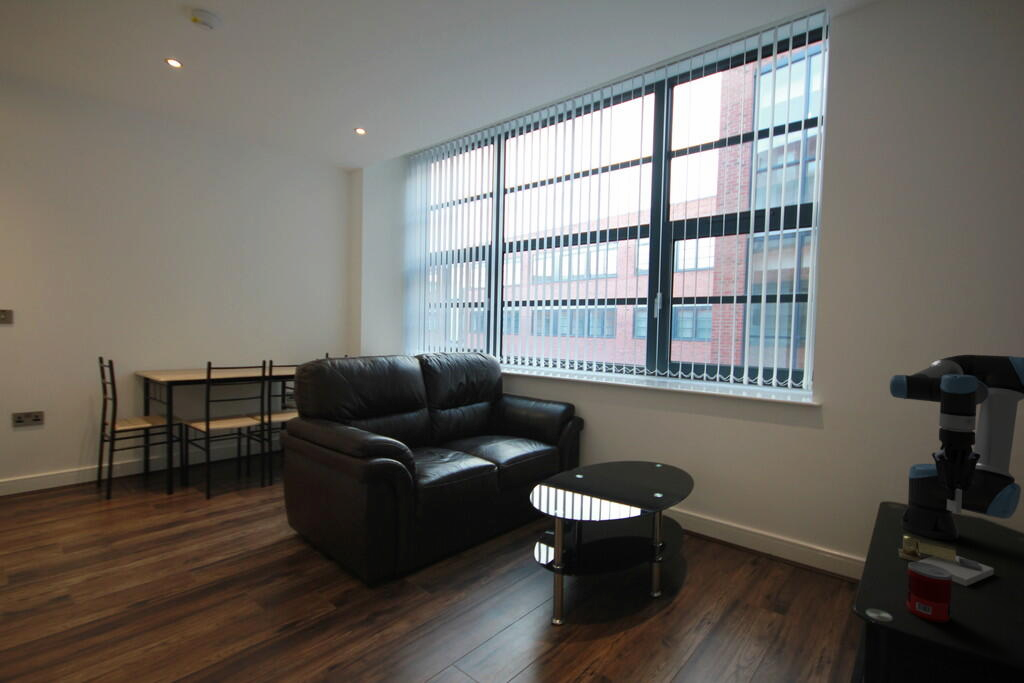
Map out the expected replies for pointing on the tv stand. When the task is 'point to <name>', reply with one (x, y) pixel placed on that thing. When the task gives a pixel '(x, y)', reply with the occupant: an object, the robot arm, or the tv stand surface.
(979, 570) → the white flat block
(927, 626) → the tv stand surface
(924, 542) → the latch bar
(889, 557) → the tv stand surface
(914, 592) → the canned food
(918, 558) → the jamb plate
